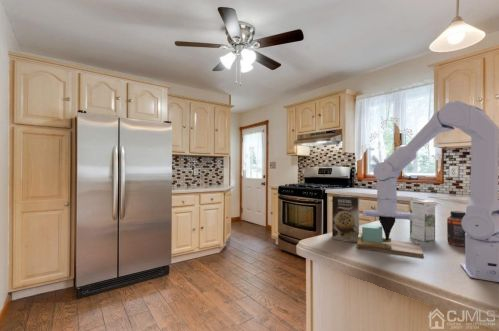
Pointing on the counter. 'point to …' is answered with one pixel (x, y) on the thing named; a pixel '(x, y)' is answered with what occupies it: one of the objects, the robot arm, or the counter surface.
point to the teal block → (372, 233)
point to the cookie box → (345, 218)
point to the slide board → (391, 246)
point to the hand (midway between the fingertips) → (387, 239)
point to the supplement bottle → (455, 229)
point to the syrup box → (422, 219)
